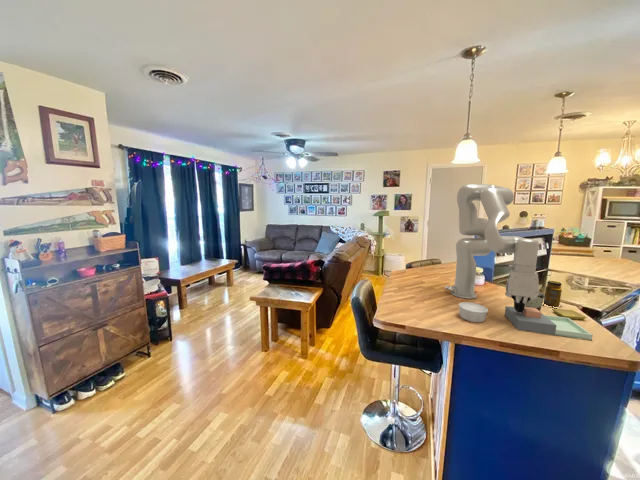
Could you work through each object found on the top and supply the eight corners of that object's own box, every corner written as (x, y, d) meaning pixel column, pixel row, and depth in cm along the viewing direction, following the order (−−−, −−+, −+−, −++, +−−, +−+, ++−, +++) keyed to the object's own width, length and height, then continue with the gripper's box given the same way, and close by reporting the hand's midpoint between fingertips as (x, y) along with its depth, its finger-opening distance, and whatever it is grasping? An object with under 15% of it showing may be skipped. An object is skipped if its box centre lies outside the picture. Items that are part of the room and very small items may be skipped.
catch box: (555, 335, 101) (555, 329, 101) (536, 318, 116) (537, 313, 116) (591, 340, 97) (592, 334, 97) (568, 322, 112) (568, 317, 112)
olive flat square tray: (563, 320, 116) (564, 315, 116) (550, 312, 125) (551, 308, 124) (586, 322, 115) (587, 317, 114) (572, 314, 123) (572, 309, 123)
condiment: (562, 306, 132) (565, 282, 131) (556, 309, 128) (560, 285, 126) (544, 301, 138) (547, 279, 137) (538, 304, 134) (541, 281, 132)
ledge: (517, 329, 105) (519, 320, 104) (504, 314, 120) (505, 306, 119) (555, 335, 101) (556, 325, 101) (536, 318, 116) (537, 310, 116)
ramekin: (474, 325, 108) (476, 313, 107) (451, 315, 118) (452, 303, 118) (493, 321, 113) (494, 309, 112) (469, 311, 123) (470, 300, 122)
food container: (537, 311, 125) (539, 290, 124) (543, 316, 119) (545, 294, 118) (506, 307, 129) (508, 287, 128) (510, 311, 123) (513, 291, 122)
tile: (525, 316, 108) (526, 310, 108) (520, 311, 113) (521, 306, 113) (540, 318, 107) (541, 312, 106) (534, 313, 111) (535, 308, 111)
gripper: (505, 268, 108) (500, 312, 110) (550, 272, 103) (544, 317, 105) (499, 265, 115) (495, 305, 117) (541, 268, 110) (536, 310, 112)
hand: (518, 311), depth 111 cm, fingers closed
